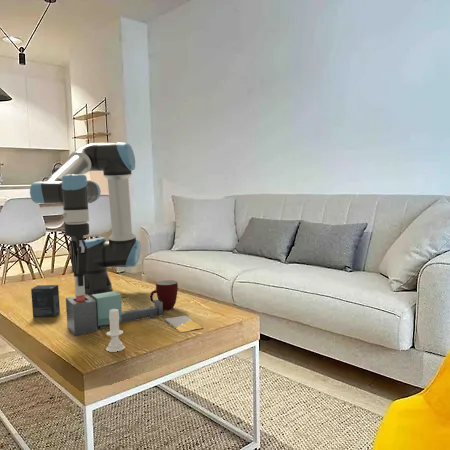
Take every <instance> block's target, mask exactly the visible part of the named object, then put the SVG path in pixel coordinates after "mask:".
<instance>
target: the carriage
mask: <svg viewBox="0 0 450 450" xmlns="http://www.w3.org/2000/svg"><path fill="white" fill-rule="evenodd" d="M91 298H92V299H94V300H95V301H96V317H97V326H101V325H106V324H110V320H109V311H110V310H112V308H113V309H118V311H119V322H121V315H122V312H123V308H122V294H120V293H119V292H117V291H116V290H114V291H113V290H112V291H108V292H105V293H100V294H91Z"/></svg>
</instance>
